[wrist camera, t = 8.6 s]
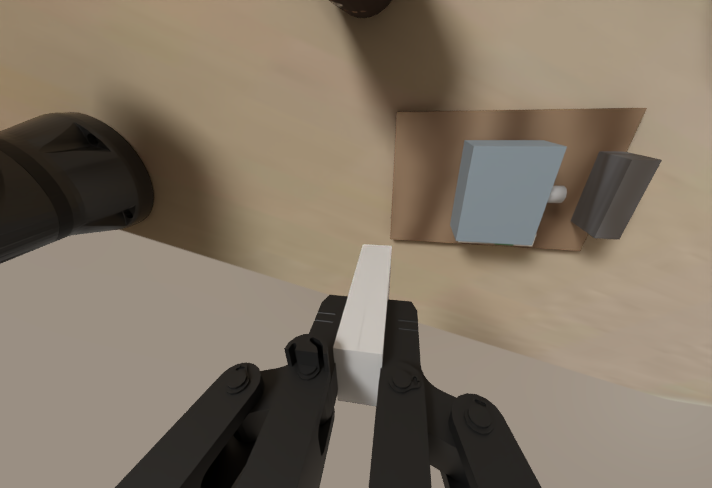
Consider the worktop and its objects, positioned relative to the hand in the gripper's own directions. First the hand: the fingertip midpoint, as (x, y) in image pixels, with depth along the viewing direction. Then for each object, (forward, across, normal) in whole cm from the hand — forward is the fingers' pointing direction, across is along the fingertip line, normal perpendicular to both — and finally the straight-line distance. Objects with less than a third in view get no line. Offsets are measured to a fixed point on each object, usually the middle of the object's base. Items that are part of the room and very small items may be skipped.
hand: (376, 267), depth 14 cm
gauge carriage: (+17, +11, -1) cm, 20 cm away
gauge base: (+18, +11, 0) cm, 21 cm away
